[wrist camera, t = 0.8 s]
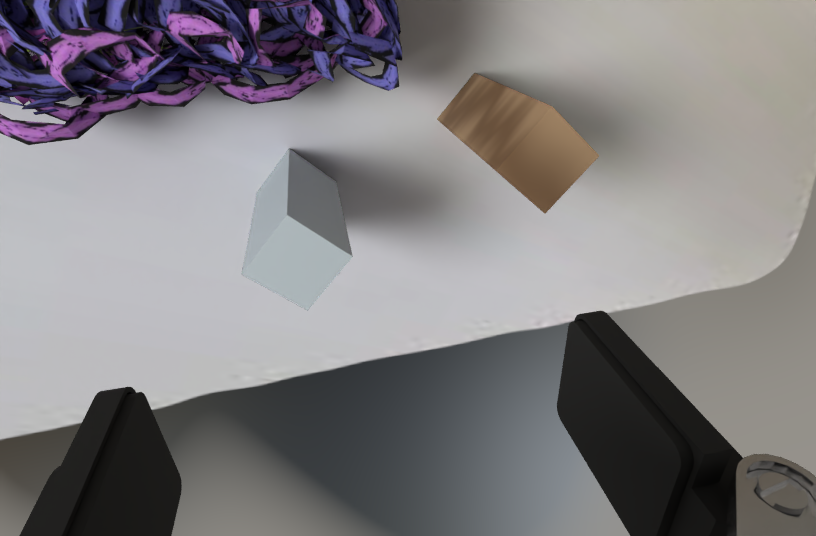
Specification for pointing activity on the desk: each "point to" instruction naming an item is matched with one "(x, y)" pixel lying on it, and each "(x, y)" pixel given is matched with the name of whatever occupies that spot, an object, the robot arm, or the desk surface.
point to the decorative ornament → (178, 53)
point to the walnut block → (519, 139)
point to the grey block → (297, 232)
